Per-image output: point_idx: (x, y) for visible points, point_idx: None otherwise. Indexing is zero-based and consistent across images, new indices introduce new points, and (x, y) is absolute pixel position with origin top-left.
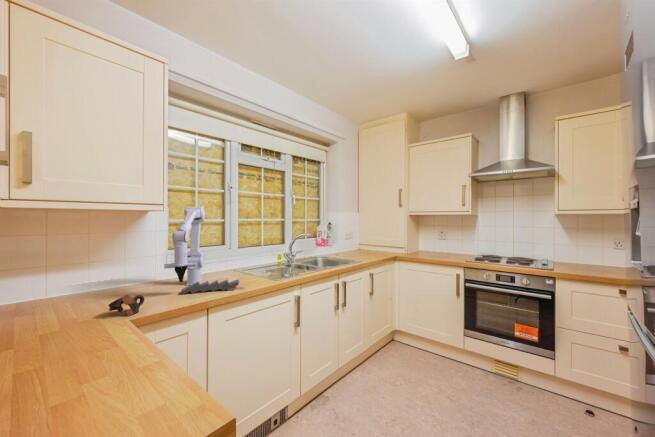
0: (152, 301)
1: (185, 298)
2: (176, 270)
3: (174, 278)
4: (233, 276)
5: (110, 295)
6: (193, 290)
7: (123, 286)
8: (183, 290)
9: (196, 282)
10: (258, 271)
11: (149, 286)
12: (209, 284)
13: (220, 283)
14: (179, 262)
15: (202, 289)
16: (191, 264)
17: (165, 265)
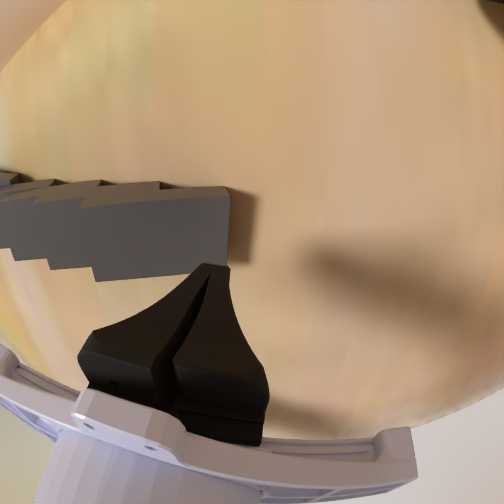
0: (424, 113)
1: (198, 64)
2: (236, 363)
3: None
4: (66, 379)
5: (499, 338)
6: (138, 188)
7: (426, 416)
8: (208, 196)
9: (111, 276)
10: None
11: (367, 406)
12: None
13: None
14: (135, 496)
15: (85, 187)
16: (11, 382)
17: (401, 469)
